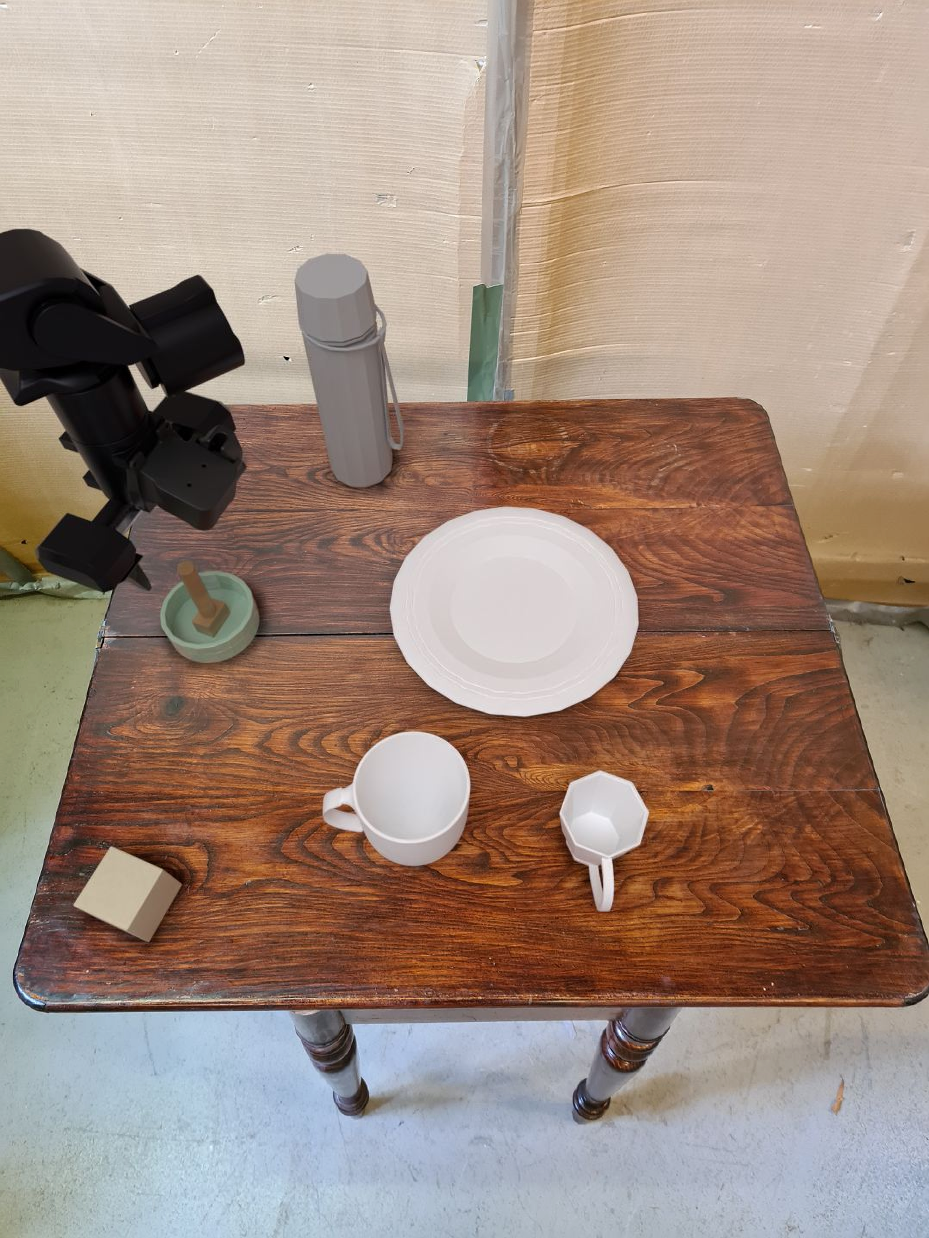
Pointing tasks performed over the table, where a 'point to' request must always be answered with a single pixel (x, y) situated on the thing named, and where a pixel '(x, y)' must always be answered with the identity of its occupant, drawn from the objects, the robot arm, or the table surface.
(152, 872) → the stick stand
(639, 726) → the table surface
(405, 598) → the plate
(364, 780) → the mug
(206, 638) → the bowl
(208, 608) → the stirring stick
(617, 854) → the cup
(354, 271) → the water bottle
